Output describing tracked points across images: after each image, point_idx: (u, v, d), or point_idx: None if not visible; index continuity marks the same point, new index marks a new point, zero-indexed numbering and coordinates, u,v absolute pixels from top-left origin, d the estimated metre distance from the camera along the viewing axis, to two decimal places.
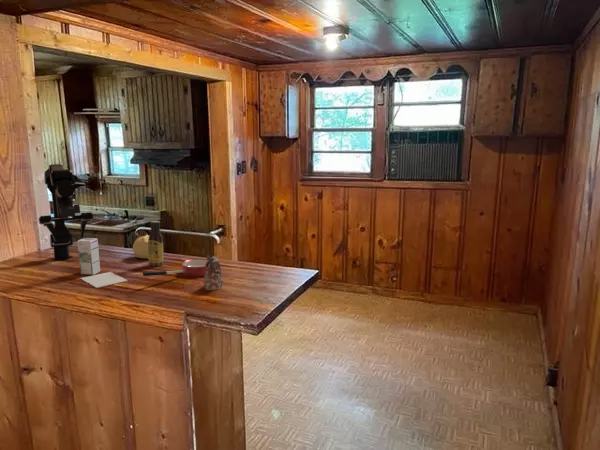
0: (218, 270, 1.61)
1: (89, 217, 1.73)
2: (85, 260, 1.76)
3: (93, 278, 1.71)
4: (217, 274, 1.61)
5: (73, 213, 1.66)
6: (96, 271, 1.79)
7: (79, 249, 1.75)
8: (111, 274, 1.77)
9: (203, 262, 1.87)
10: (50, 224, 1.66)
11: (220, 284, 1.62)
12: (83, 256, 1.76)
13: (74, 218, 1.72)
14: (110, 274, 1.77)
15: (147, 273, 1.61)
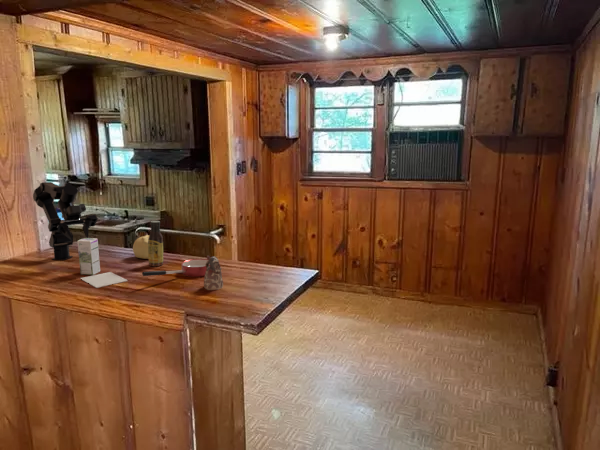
0: (218, 270, 1.61)
1: (94, 217, 1.89)
2: (85, 260, 1.76)
3: (93, 278, 1.71)
4: (217, 274, 1.61)
5: (80, 209, 1.83)
6: (96, 271, 1.79)
7: (79, 249, 1.75)
8: (111, 274, 1.77)
9: (203, 262, 1.87)
10: (64, 223, 1.80)
11: (220, 284, 1.62)
12: (83, 256, 1.76)
13: (80, 221, 1.88)
14: (110, 274, 1.77)
15: (146, 273, 1.61)
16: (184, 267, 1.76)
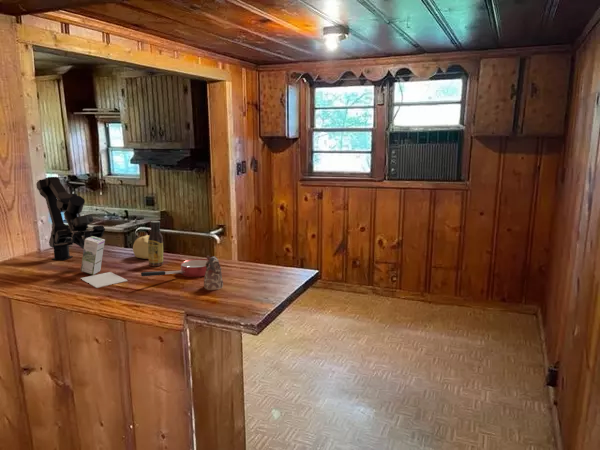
0: (218, 270, 1.61)
1: (101, 228, 1.85)
2: (88, 259, 1.76)
3: (93, 278, 1.71)
4: (217, 274, 1.61)
5: (87, 220, 1.79)
6: (96, 271, 1.79)
7: (84, 248, 1.75)
8: (111, 274, 1.77)
9: (202, 262, 1.86)
10: (79, 234, 1.78)
11: (220, 284, 1.62)
12: (87, 255, 1.75)
13: None
14: (110, 274, 1.77)
15: (145, 273, 1.61)
16: (183, 267, 1.76)
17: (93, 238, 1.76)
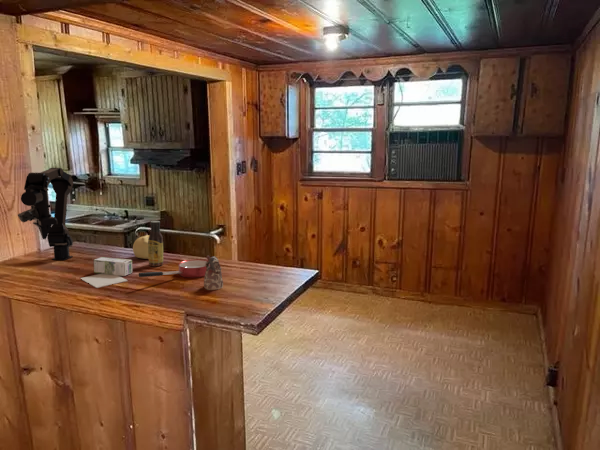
0: (218, 270, 1.61)
1: (40, 223, 1.75)
2: (106, 267, 1.76)
3: (93, 278, 1.71)
4: (217, 274, 1.61)
5: (22, 219, 1.75)
6: None
7: (116, 262, 1.75)
8: None
9: (200, 263, 1.85)
10: None
11: (220, 284, 1.62)
12: (110, 266, 1.76)
13: None
14: None
15: (143, 274, 1.60)
16: (181, 268, 1.75)
17: (129, 266, 1.78)
